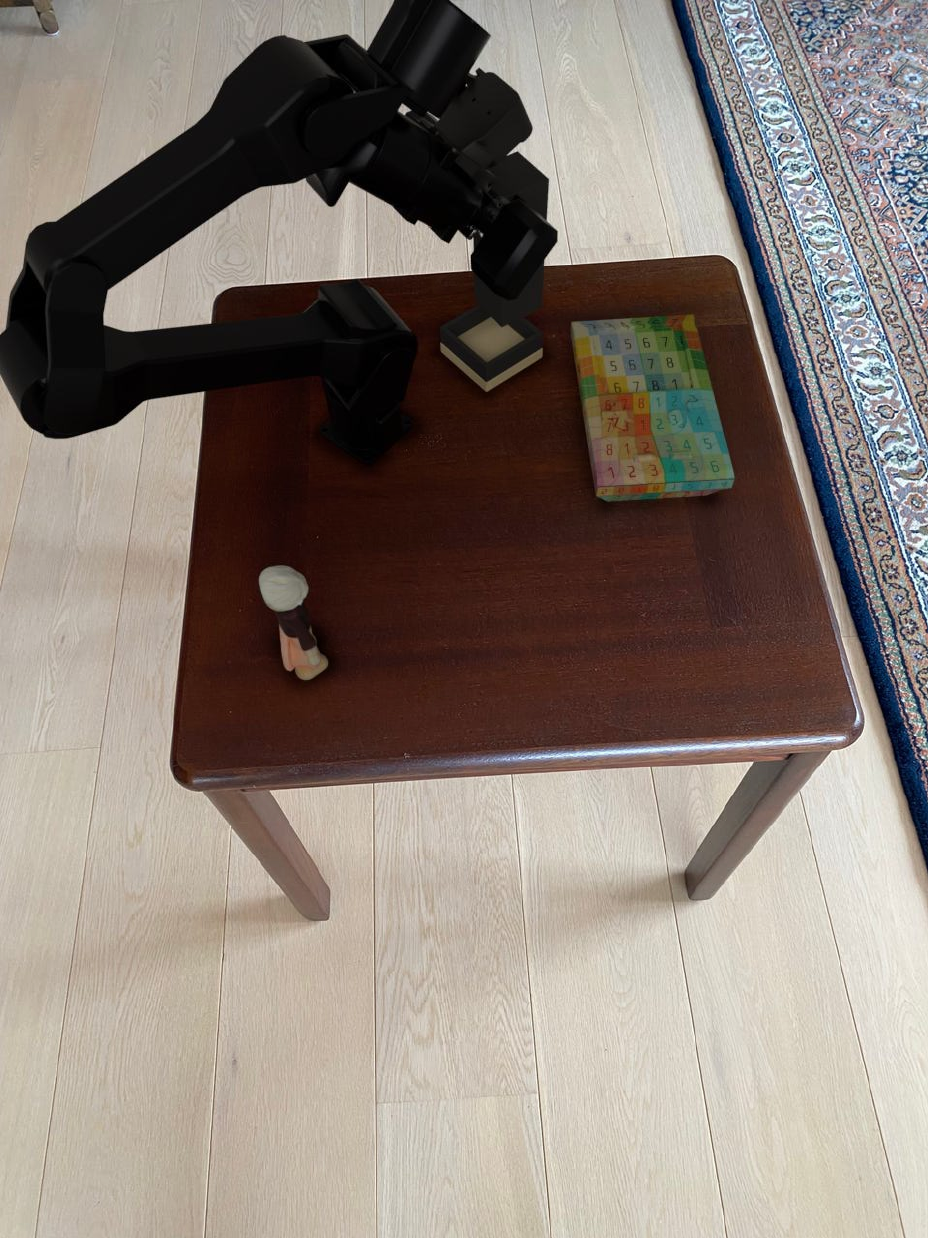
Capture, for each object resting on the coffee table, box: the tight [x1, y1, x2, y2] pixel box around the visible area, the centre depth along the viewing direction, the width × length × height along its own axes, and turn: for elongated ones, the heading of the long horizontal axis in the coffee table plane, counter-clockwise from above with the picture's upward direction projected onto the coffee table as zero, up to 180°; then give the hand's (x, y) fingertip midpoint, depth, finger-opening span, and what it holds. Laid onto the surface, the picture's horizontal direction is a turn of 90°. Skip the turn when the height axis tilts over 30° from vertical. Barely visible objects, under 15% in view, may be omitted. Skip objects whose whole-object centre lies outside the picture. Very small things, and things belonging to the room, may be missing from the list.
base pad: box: [439, 303, 544, 393], centre depth 90 cm, size 7×7×3 cm
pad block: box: [472, 150, 550, 327], centre depth 79 cm, size 4×4×13 cm
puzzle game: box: [570, 314, 736, 502], centre depth 84 cm, size 12×5×20 cm
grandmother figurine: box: [258, 564, 329, 681], centre depth 70 cm, size 8×4×13 cm, turn 37°
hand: (521, 237), depth 80 cm, fingers closed on pad block, 4 cm apart
